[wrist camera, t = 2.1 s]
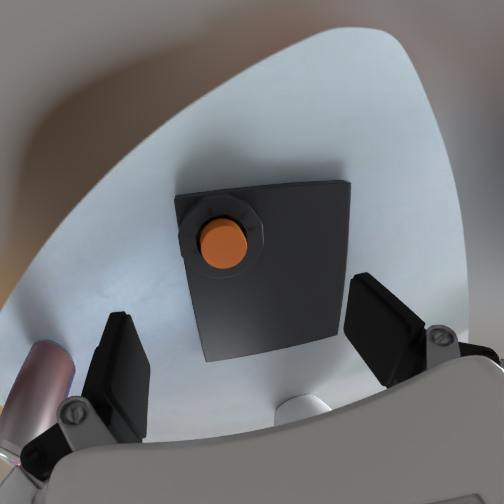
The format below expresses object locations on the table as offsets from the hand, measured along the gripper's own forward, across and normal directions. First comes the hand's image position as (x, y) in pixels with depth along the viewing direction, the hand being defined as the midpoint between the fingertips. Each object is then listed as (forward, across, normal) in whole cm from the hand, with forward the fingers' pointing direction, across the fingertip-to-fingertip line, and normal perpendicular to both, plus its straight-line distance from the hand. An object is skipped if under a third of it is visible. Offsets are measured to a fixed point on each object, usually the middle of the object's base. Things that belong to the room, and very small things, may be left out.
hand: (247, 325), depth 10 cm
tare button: (+10, 0, 0) cm, 10 cm away
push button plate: (+12, -4, +5) cm, 14 cm away
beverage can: (+13, +21, +12) cm, 27 cm away
